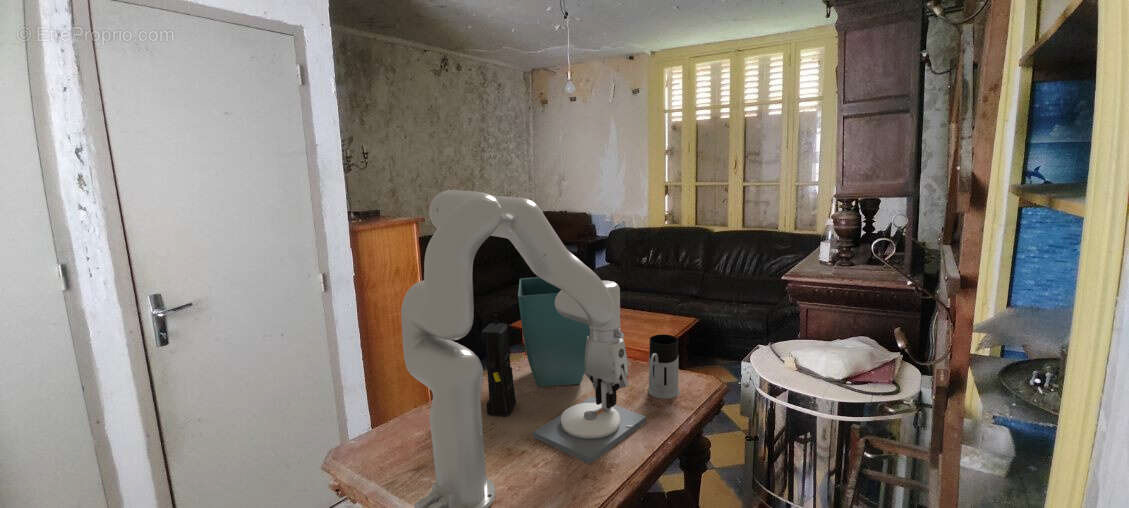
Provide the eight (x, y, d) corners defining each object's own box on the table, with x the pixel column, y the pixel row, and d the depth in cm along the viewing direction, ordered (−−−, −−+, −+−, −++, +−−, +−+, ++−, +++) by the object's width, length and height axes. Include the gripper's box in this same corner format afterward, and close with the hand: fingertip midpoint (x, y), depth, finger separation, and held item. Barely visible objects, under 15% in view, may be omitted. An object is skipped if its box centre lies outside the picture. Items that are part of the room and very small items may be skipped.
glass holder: (684, 387, 145) (684, 336, 142) (667, 410, 133) (667, 355, 130) (653, 381, 149) (653, 331, 146) (635, 403, 137) (634, 349, 134)
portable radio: (508, 419, 131) (502, 324, 126) (485, 417, 133) (478, 323, 128) (517, 404, 139) (511, 314, 134) (495, 402, 140) (489, 313, 135)
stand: (590, 464, 112) (590, 457, 111) (533, 437, 123) (532, 430, 122) (647, 422, 128) (647, 415, 127) (591, 401, 139) (591, 395, 138)
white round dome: (589, 446, 115) (588, 410, 113) (549, 422, 126) (547, 389, 124) (632, 422, 124) (631, 389, 122) (591, 402, 135) (590, 371, 133)
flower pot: (524, 364, 164) (519, 277, 158) (587, 361, 165) (585, 274, 159) (523, 394, 144) (517, 295, 139) (595, 389, 145) (592, 291, 140)
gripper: (642, 335, 122) (642, 408, 125) (587, 322, 132) (589, 389, 136) (623, 345, 116) (624, 421, 120) (568, 330, 127) (571, 400, 130)
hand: (606, 403), depth 128 cm, fingers open, 2 cm apart
